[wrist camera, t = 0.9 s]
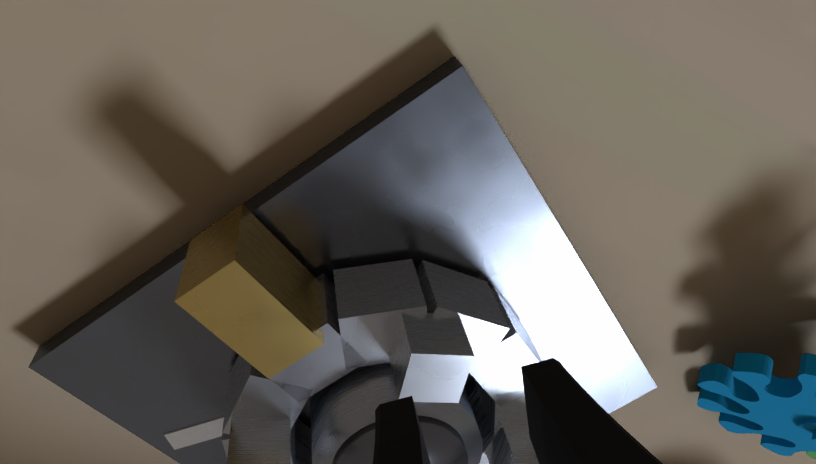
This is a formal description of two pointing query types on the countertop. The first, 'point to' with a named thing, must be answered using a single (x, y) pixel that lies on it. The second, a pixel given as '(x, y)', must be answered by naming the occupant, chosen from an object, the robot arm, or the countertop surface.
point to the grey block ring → (349, 339)
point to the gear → (764, 401)
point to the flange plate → (357, 246)
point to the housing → (355, 421)
